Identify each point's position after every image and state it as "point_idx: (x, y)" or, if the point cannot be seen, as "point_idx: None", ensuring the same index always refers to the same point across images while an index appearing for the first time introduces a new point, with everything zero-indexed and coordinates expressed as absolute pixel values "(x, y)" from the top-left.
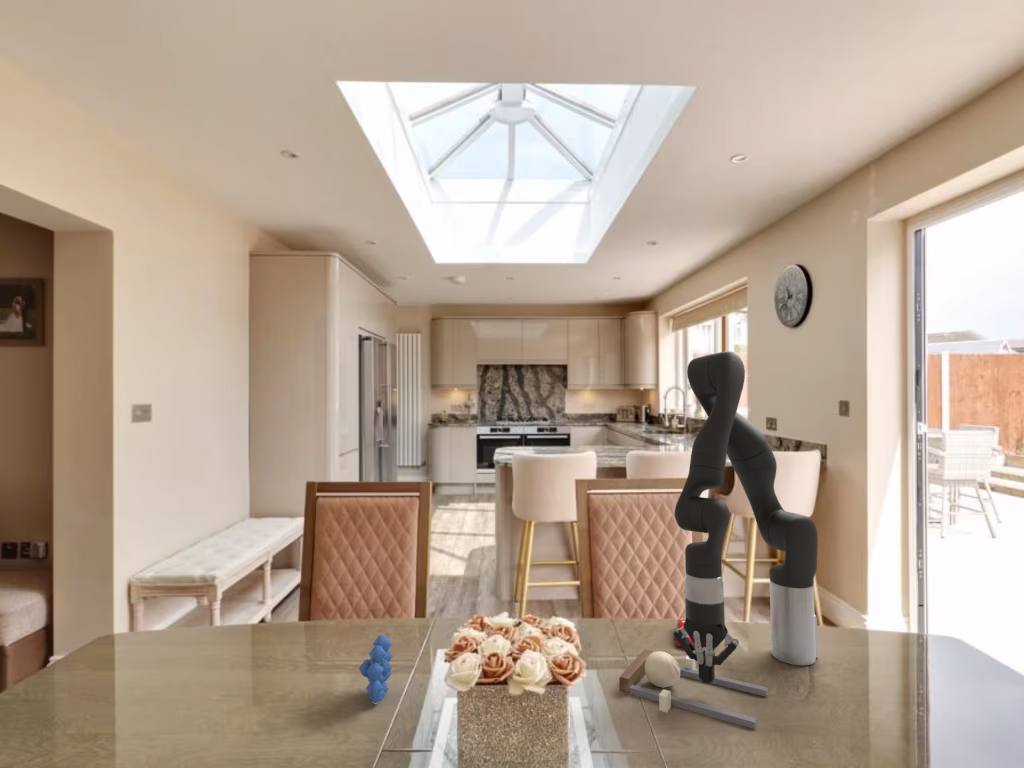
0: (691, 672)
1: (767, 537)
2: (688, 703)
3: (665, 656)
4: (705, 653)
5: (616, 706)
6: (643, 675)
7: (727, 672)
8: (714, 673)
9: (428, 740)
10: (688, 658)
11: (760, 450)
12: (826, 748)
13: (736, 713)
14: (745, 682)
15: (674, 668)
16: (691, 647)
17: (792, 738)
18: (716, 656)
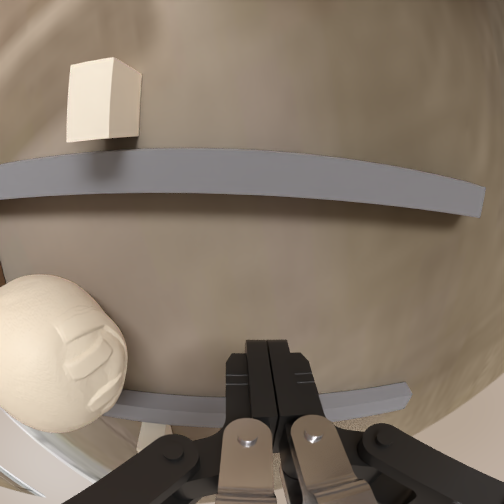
0: (137, 192)
1: None
2: (219, 425)
3: (42, 421)
4: (271, 469)
5: (70, 433)
6: (2, 278)
7: (311, 30)
8: (312, 377)
9: (18, 481)
10: (82, 129)
11: None
12: (496, 365)
13: (366, 404)
14: (422, 175)
15: (104, 405)
16: (151, 488)
17: (460, 376)
18: (355, 472)
